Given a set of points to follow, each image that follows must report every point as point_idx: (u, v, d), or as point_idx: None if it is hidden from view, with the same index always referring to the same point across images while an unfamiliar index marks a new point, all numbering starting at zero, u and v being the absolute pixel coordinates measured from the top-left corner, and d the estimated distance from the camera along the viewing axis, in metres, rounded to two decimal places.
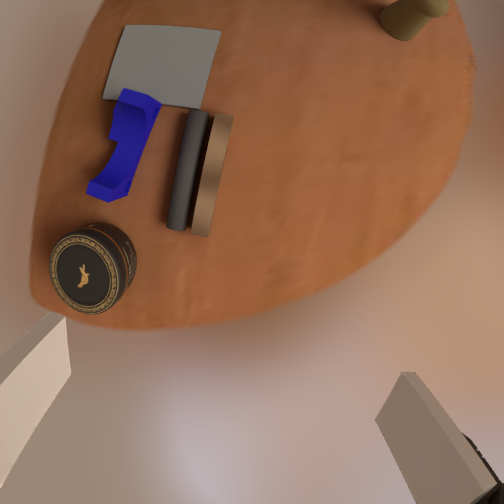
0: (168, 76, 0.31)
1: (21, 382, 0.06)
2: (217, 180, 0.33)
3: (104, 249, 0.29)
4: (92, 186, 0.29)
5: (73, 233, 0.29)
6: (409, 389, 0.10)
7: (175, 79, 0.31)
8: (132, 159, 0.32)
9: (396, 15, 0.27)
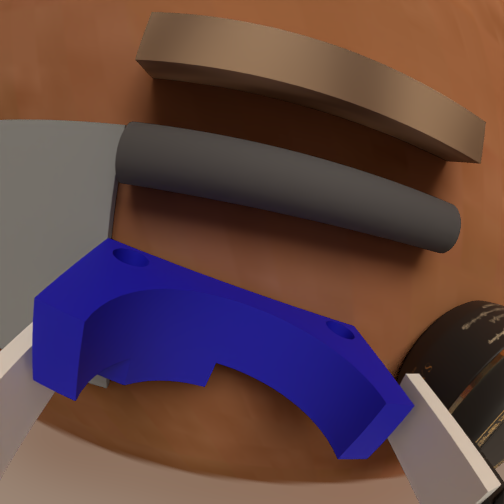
0: (40, 227, 0.11)
1: (15, 383, 0.06)
2: (360, 58, 0.09)
3: None
4: (356, 450, 0.09)
5: None
6: (414, 391, 0.09)
7: (46, 206, 0.11)
8: (273, 324, 0.12)
9: None
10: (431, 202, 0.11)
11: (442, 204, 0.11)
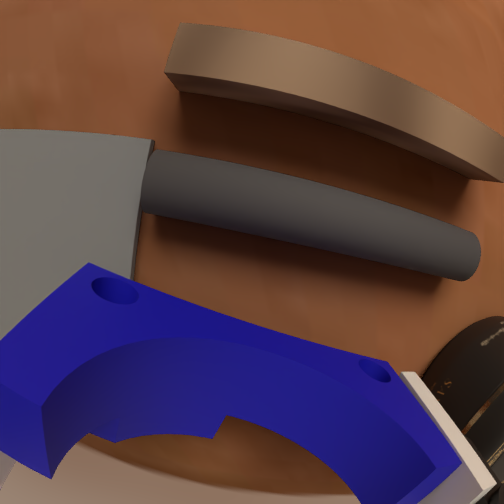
0: (61, 241, 0.12)
1: None
2: (392, 77, 0.08)
3: None
4: None
5: None
6: (409, 389, 0.10)
7: (68, 220, 0.11)
8: (298, 373, 0.09)
9: None
10: (454, 245, 0.10)
11: (466, 245, 0.11)
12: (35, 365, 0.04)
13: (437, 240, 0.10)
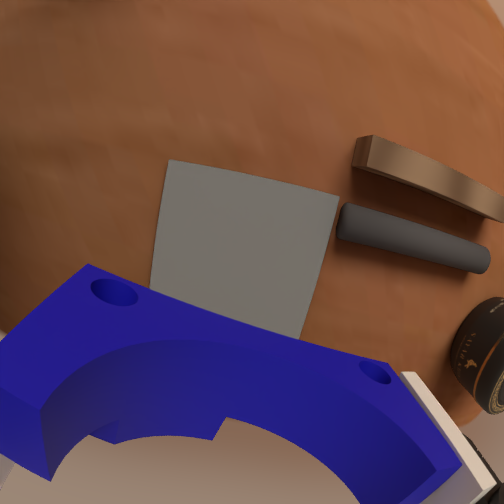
0: (268, 256, 0.20)
1: None
2: (460, 175, 0.17)
3: None
4: None
5: (491, 389, 0.17)
6: (409, 388, 0.10)
7: (277, 242, 0.20)
8: (298, 375, 0.09)
9: None
10: (478, 253, 0.19)
11: (483, 253, 0.19)
12: (34, 368, 0.04)
13: (470, 251, 0.19)
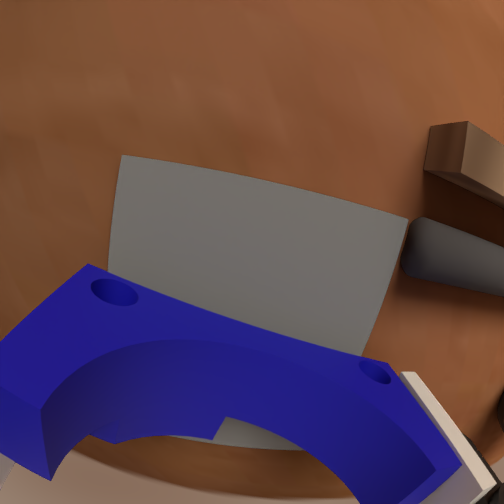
0: (293, 318, 0.12)
1: None
2: None
3: None
4: None
5: None
6: (409, 389, 0.10)
7: (307, 296, 0.11)
8: (298, 375, 0.09)
9: None
10: None
11: None
12: (34, 368, 0.04)
13: None
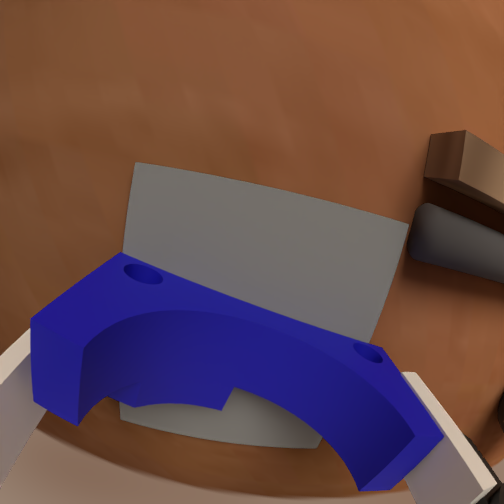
0: (298, 318, 0.12)
1: (21, 382, 0.06)
2: None
3: None
4: (379, 482, 0.07)
5: None
6: None
7: (312, 298, 0.12)
8: (296, 348, 0.10)
9: None
10: None
11: None
12: (79, 320, 0.06)
13: None
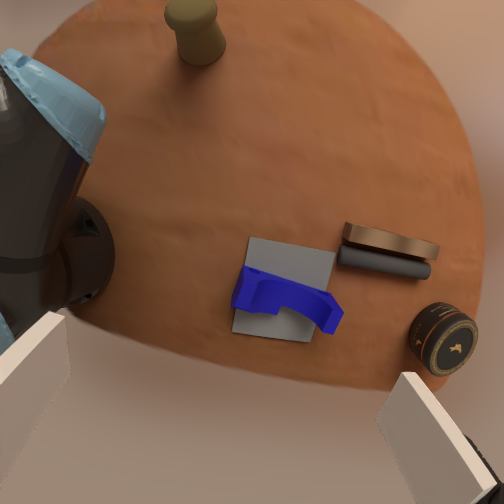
0: None
1: (21, 382, 0.06)
2: (403, 238, 0.35)
3: (446, 331, 0.34)
4: (327, 328, 0.34)
5: (429, 357, 0.35)
6: (410, 389, 0.10)
7: (304, 277, 0.38)
8: (299, 290, 0.37)
9: (206, 49, 0.28)
10: (417, 261, 0.38)
11: (420, 262, 0.39)
12: (252, 281, 0.33)
13: (412, 260, 0.38)
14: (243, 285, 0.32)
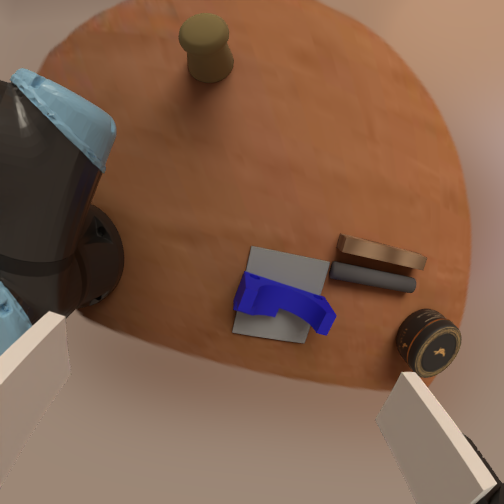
0: None
1: (21, 382, 0.06)
2: (392, 249, 0.39)
3: (431, 336, 0.38)
4: (321, 330, 0.37)
5: (414, 359, 0.39)
6: (409, 389, 0.10)
7: (300, 284, 0.42)
8: (296, 294, 0.40)
9: (216, 69, 0.31)
10: (406, 278, 0.41)
11: (410, 278, 0.42)
12: (253, 287, 0.36)
13: (401, 277, 0.41)
14: (245, 291, 0.35)
